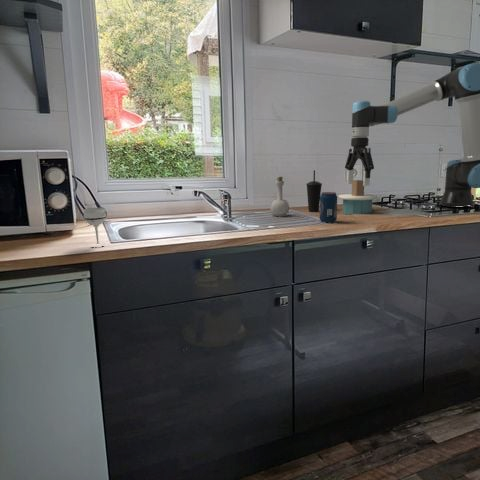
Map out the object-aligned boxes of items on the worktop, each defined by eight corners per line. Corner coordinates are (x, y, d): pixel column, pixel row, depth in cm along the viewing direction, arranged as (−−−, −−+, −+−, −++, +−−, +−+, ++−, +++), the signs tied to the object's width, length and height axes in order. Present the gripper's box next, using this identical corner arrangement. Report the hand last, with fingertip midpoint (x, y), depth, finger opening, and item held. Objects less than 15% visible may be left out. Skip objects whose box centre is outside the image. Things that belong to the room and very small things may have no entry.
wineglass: (111, 243, 128) (107, 207, 125) (107, 248, 121) (103, 210, 119) (89, 244, 127) (85, 208, 125) (84, 249, 120) (80, 211, 118)
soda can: (318, 220, 164) (319, 192, 161) (335, 220, 163) (336, 191, 160) (320, 223, 157) (321, 193, 154) (337, 223, 156) (338, 193, 154)
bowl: (361, 210, 190) (362, 196, 188) (377, 213, 177) (378, 198, 176) (337, 212, 186) (338, 197, 185) (352, 215, 174) (352, 200, 173)
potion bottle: (277, 217, 174) (277, 177, 170) (266, 215, 181) (266, 176, 177) (293, 215, 178) (293, 176, 174) (281, 213, 185) (281, 175, 182)
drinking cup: (317, 213, 185) (318, 170, 181) (303, 211, 190) (303, 170, 185) (324, 211, 191) (325, 170, 187) (310, 210, 196) (310, 170, 191)
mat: (405, 210, 188) (405, 208, 187) (432, 214, 171) (432, 213, 170) (373, 212, 183) (373, 210, 183) (397, 217, 166) (397, 216, 166)
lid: (363, 195, 191) (363, 178, 189) (384, 198, 175) (385, 180, 173) (332, 197, 186) (332, 180, 185) (351, 200, 170) (352, 182, 169)
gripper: (338, 139, 186) (337, 183, 190) (368, 135, 162) (366, 186, 167) (352, 138, 188) (350, 182, 192) (384, 135, 164) (381, 186, 168)
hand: (358, 184), depth 179 cm, fingers open, 13 cm apart
